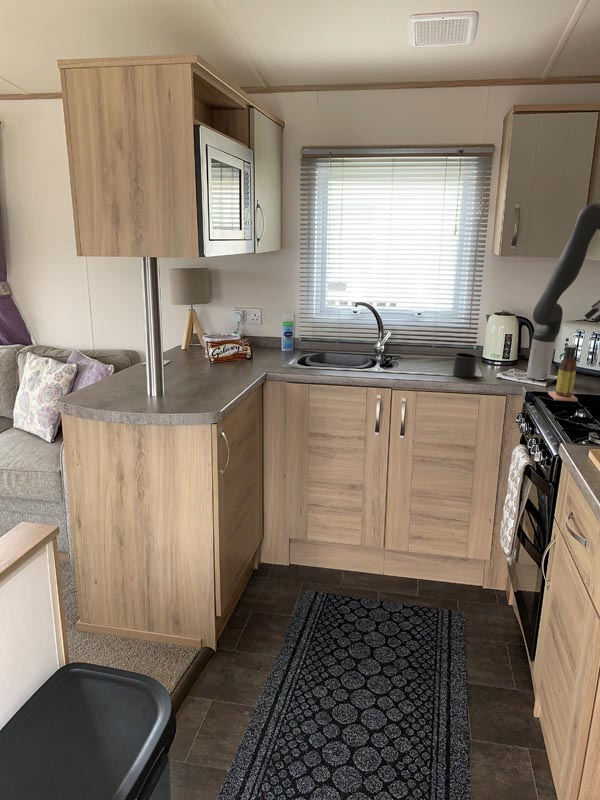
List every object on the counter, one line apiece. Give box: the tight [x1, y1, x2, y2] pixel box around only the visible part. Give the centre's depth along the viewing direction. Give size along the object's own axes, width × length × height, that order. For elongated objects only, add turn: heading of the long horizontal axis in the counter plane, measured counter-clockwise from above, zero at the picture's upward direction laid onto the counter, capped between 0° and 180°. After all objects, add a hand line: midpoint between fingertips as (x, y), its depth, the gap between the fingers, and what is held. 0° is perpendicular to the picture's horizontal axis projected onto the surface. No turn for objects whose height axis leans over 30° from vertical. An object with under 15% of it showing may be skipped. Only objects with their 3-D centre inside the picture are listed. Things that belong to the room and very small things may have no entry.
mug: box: [452, 352, 478, 379], centre depth 267 cm, size 9×12×9 cm
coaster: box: [547, 390, 579, 402], centre depth 241 cm, size 8×8×1 cm
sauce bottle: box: [555, 344, 577, 397], centre depth 238 cm, size 7×6×20 cm
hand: (590, 319), depth 237 cm, fingers open, 8 cm apart
